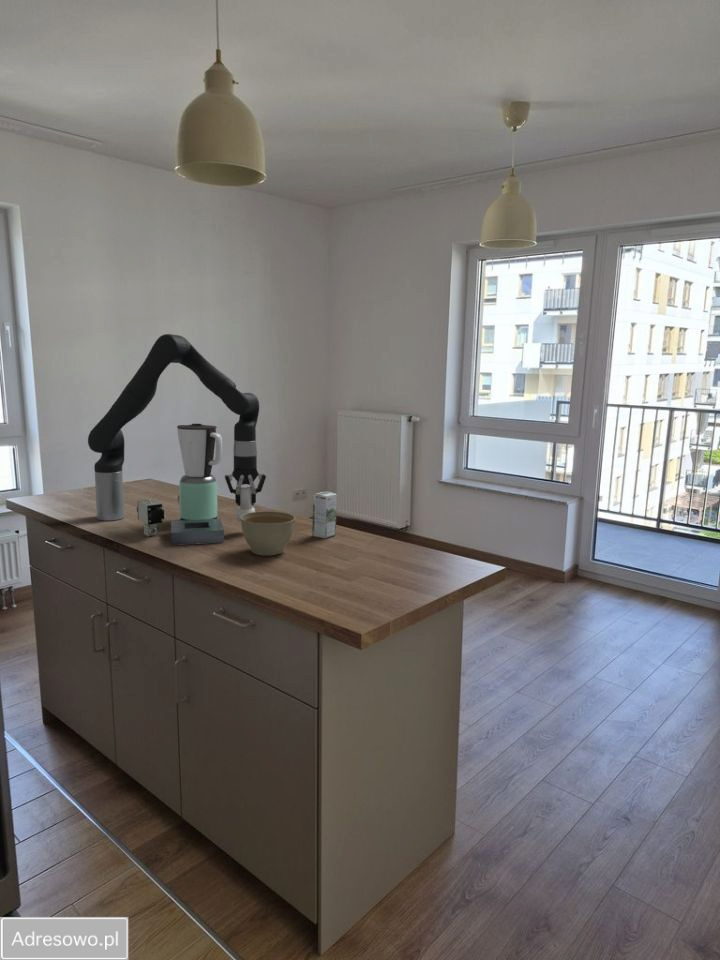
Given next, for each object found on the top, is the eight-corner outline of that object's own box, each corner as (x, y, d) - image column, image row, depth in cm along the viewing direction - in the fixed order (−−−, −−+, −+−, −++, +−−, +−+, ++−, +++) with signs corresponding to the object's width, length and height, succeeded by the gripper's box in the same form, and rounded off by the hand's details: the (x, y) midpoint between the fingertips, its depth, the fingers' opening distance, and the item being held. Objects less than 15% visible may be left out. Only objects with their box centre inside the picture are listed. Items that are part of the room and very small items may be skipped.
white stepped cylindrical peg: (235, 518, 217) (235, 486, 215) (253, 517, 219) (253, 485, 217) (237, 522, 212) (237, 489, 210) (255, 521, 213) (255, 489, 211)
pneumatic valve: (150, 540, 204) (149, 503, 202) (136, 532, 213) (135, 496, 211) (167, 537, 208) (166, 501, 206) (153, 530, 217) (152, 495, 214)
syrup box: (322, 532, 218) (323, 490, 216) (336, 535, 215) (337, 493, 213) (311, 536, 214) (312, 493, 211) (325, 539, 211) (326, 495, 208)
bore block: (171, 532, 214) (171, 520, 213) (220, 530, 218) (220, 518, 218) (171, 545, 199) (171, 532, 198) (224, 542, 203) (224, 530, 203)
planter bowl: (250, 562, 184) (250, 525, 182) (234, 547, 198) (234, 513, 196) (302, 556, 191) (303, 520, 189) (283, 542, 205) (283, 509, 203)
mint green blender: (167, 522, 227) (164, 423, 221) (193, 515, 239) (191, 421, 233) (209, 529, 219) (208, 427, 213) (234, 521, 231) (233, 424, 225)
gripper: (265, 452, 217) (265, 501, 220) (222, 452, 213) (223, 503, 216) (268, 455, 210) (268, 506, 213) (224, 455, 206) (224, 508, 209)
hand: (245, 504), depth 214 cm, fingers closed on white stepped cylindrical peg, 4 cm apart
